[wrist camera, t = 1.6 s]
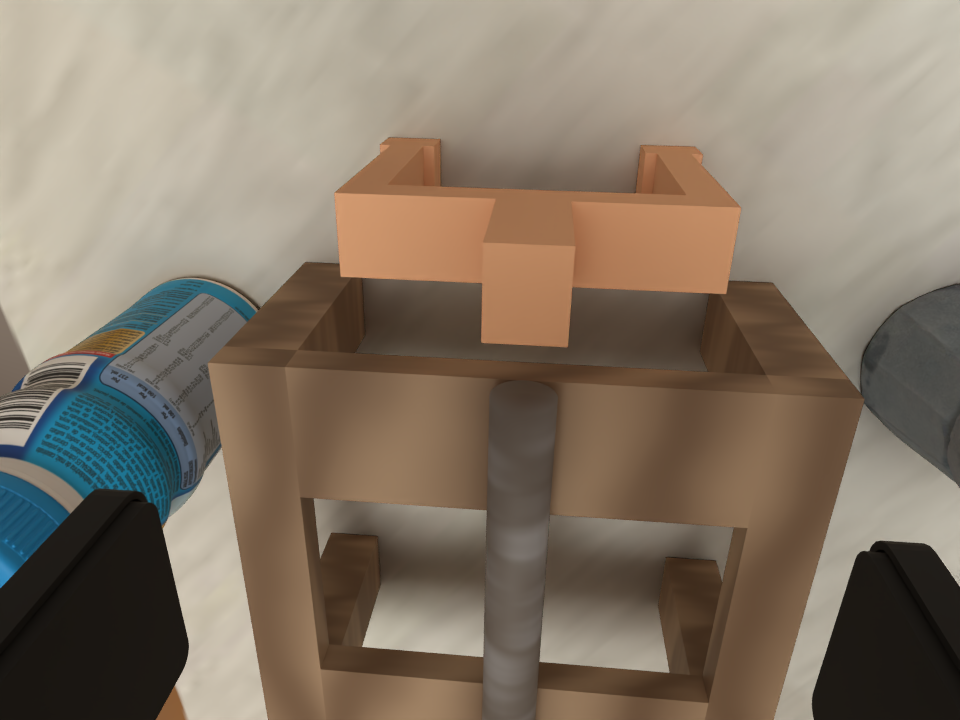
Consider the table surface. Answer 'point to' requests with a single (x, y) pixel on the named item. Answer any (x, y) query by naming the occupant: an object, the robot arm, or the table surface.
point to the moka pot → (919, 377)
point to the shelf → (597, 473)
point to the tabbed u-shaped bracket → (536, 236)
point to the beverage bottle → (116, 414)
